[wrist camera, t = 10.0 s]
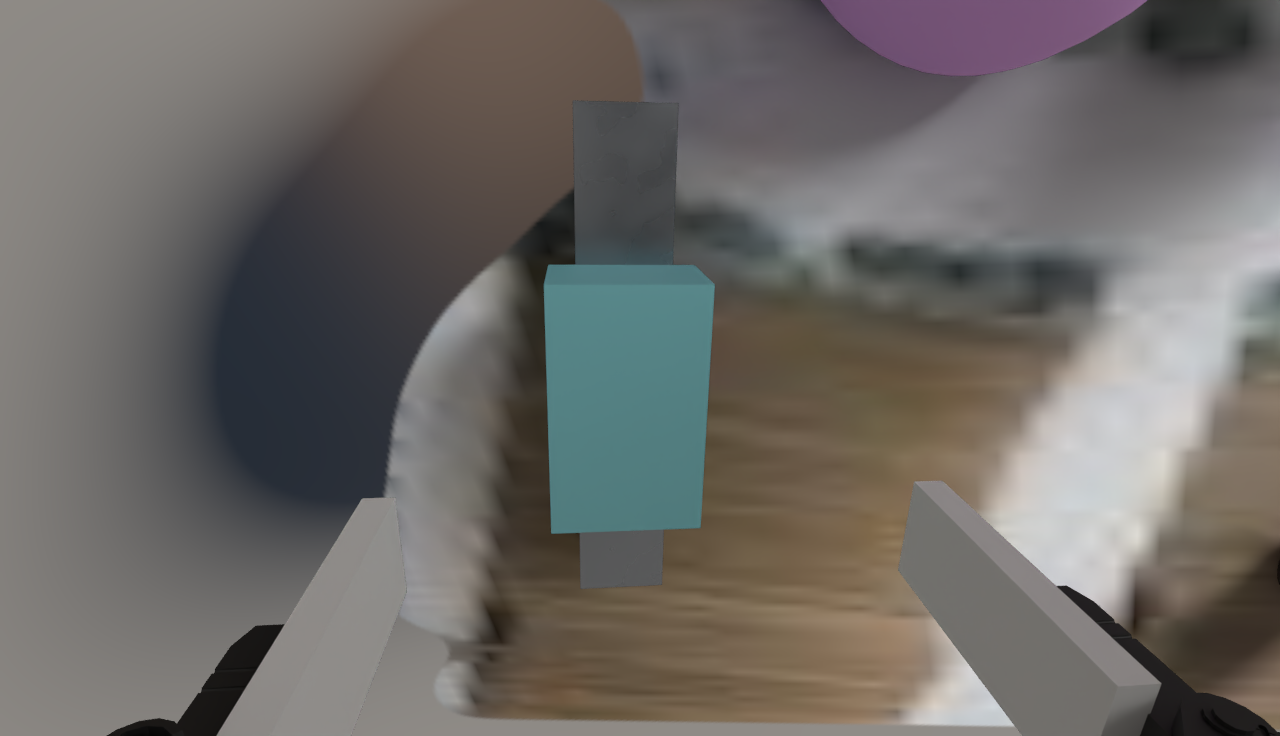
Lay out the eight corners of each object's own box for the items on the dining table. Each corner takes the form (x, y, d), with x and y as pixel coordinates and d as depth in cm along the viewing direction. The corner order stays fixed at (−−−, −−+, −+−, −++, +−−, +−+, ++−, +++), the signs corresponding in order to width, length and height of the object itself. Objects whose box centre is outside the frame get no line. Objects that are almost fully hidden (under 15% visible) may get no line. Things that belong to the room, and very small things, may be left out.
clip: (551, 251, 29) (543, 284, 22) (681, 251, 29) (714, 284, 22) (556, 449, 32) (551, 533, 25) (673, 446, 33) (700, 527, 26)
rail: (572, 107, 27) (572, 100, 24) (664, 109, 28) (678, 103, 24) (579, 540, 35) (580, 588, 31) (652, 537, 35) (661, 584, 31)
